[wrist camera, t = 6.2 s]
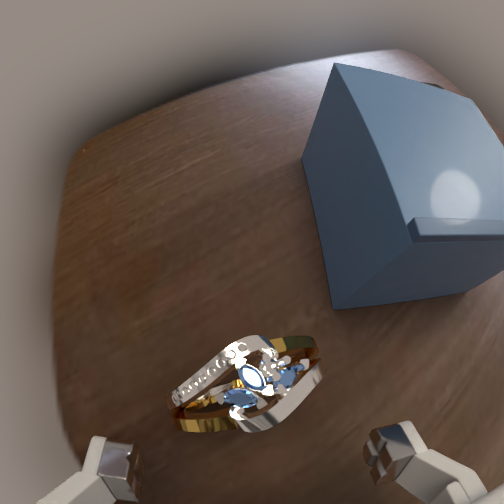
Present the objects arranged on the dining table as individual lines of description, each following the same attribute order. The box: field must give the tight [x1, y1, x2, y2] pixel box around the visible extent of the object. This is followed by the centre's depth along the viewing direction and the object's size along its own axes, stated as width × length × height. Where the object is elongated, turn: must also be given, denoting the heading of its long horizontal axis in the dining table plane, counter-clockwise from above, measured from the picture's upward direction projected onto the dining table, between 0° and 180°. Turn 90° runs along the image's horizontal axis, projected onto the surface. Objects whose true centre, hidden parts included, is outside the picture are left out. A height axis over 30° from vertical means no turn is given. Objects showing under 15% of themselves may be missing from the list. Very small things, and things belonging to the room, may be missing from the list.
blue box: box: [302, 63, 504, 310], centre depth 18 cm, size 12×12×10 cm
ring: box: [165, 335, 327, 432], centre depth 13 cm, size 7×3×8 cm, turn 108°
